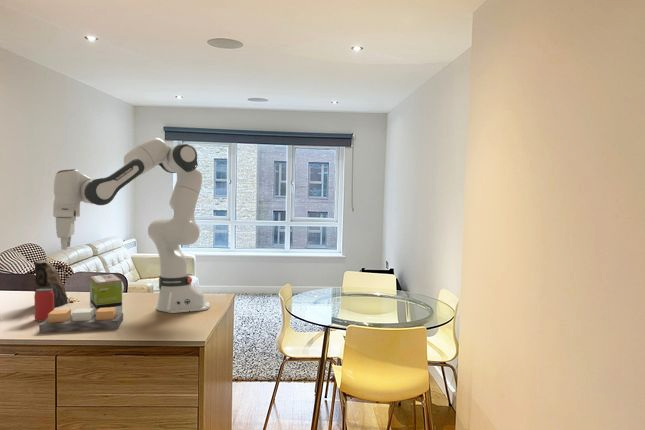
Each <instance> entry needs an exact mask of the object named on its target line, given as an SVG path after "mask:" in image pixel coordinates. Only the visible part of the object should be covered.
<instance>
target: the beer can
mask: <svg viewBox="0 0 645 430" xmlns="http://www.w3.org/2000/svg"><path fill="white" fill-rule="evenodd" d="M33 296H34V319H35V321H36V322H37V321H38V322H43V321H44V320H46V319H47V318H48V314H49V313H50V312H51V311H52V310H55V308H54V293H53V290H52V288H40V289H37V290H36V292H35V291H34V295H33Z"/></svg>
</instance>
